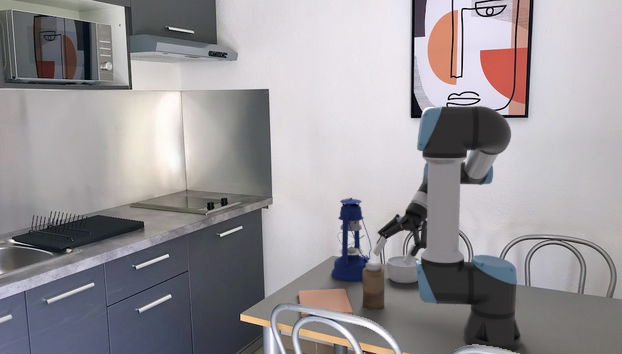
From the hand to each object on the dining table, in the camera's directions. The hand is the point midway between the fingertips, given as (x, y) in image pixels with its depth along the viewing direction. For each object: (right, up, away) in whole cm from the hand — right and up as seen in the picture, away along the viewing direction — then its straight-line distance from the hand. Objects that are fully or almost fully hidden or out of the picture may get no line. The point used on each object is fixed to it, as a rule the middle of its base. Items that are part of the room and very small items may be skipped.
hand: (389, 258), depth 177 cm
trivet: (-22, -15, -3) cm, 27 cm away
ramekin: (+8, -11, +21) cm, 25 cm away
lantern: (-11, -10, +26) cm, 30 cm away
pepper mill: (-6, -15, -4) cm, 16 cm away
